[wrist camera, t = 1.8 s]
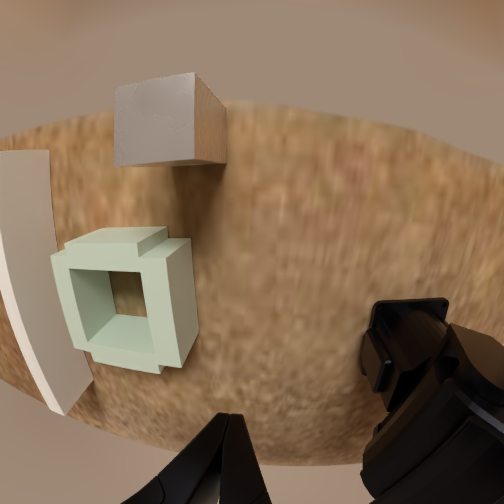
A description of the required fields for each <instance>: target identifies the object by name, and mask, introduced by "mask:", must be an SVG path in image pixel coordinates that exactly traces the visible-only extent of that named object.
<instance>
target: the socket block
mask: <svg viewBox="0 0 504 504" xmlns="http://www.w3.org/2000/svg"><path fill="white" fill-rule="evenodd" d="M64 244H65V249H64V250H61V251H59V252H57V253H55V254H53V255H50V257H51V263H52V268H53V273H54V277H55V282H56V286H57V290H58V294H59V298H60V302H61V306H62V310H63V313H64V317H65V320H66V323H67V327H68V330H69V333H70V336H71V339H72V342H73V345H74V348H76V349H80V350H84V351H88V352H91V354H92V357H93V360H94V361H96V362H100V363H104V364H109V365H113V366H118V367H123V368H128V369H133V370H138V371H144V372H150V373H156V374H161V372H162V370H163V368H164V367H165V366H171V367H178V368H182V366H183V364H184V362H185V360H186V358H187V356H188V354H189V352H190V349H191V347H192V345H193V343H194V341H195V339H196V337H197V335H198V333H199V324H198V315H197V305H196V295H195V284H194V273H193V260H192V247H191V238H168V227H167V226H158V227H119V228H101V229H98V230H96V231H93V232H91V233H88V234H86V235H83V236H81V237H79V238H76V239H74V240H71V241H69V242H66V243H64ZM108 271H126V272H141V279H142V286H143V292H144V298H145V304H146V310H147V315H148V317H138V316H129V315H121V314H117V313H116V309H115V304H114V299H113V294H112V289H111V284H110V278H109V273H108Z"/></svg>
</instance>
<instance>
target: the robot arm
mask: <svg viewBox="0 0 504 504" xmlns="http://www.w3.org/2000/svg"><path fill="white" fill-rule="evenodd" d="M443 303H444V305H443V306H442V304H443ZM381 306H383V308H382V309H381V310H378V309H379V307H381ZM448 306H449V301H448V300H447V299H446V298H444V297H442V298H426V299H406V300H382V301H378V302H376V303H375V304H374V307H373V312H372V318H371V323H370V328H369V329H368V330H367V331H366V334H365V339H364V343H363V348H362V353H361V361H362V365H361V372H362V374H363V375H365V376H367V377H368V380H369V382H370V385H371V388H372V391H373V392H374V393H380V394H381V397H382V400H383V402H384V405H385V408H386V410H387V412H390V413H389V414H388V416H387V417H386V418H385V419H384V420H383V421H382V422H381V423H379V424H378V425H377V426H376V427H375V428H374V432H373V439H372V440H371V441H370V442H369V443H368V444H367V446H366V448H365V450H364V453H363V470H361V472H360V475H361V478H362V481H363V484H364V485H365V487H366V488H367V490H368V492H369V493H370V494H371V496H372V497H373V498H374V499H375V500H374V501H372V502H371V503H369V504H504V346H502V345H501V344H500V343H499V342H498V341H496V340H495V339H494V338H493V337H491V336H488V335H485V334H482V333H479V332H476V331H473V330H470V329H467V328H464V327H461V326H458V325H455V324H452V323H450V324H448V323H447V322H446V321H445V318H446V314H447V310H448ZM219 495H220V498H219ZM218 498H219V504H272V503H271V500H270V497H269V494H268V492H267V489H266V486H265V483H264V480H263V477H262V474H261V471H260V468H259V465H258V462H257V459H256V456H255V452H254V449H253V446H252V443H251V440H250V436H249V433H248V430H247V426H246V423H245V420H244V416H243V415H242V414H231V415H230V414H229V413H222V412H219V413H217V414H216V415H215V416H214V417H213V418H212V419H211V421H210V422H209V423H208V424H207V425H206V426H205V427H204V428H203V429H202V430H201V431H200V432H199V433H198V434H197V435H196V437H195V438H194V439H193V440H192V441H191V442H190V443H189V444H188V445H187V446H186V447H185V448H184V449H183V450H182V451H181V452H180V453H179V454H178V455H177V456H176V457H175V458H174V459H173V460H172V461H171V462H170V463H169V464H168V465H167V466H166V467H165V468H164V469H163V470H162V471H161V472H160V473H159V474H158V476H155V477H154V478H153V479H152V480H151V481H150V482H149V483H148V484H146V485H145V486H144V487H143V488H142V489H141V490H140V491H138V492H137V493H135V494H134V495H133V496H131V497H130V498H128V499H127V500H125V501H124V502H122V503H121V504H217V502H218Z"/></svg>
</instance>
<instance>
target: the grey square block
mask: <svg viewBox="0 0 504 504" xmlns="http://www.w3.org/2000/svg"><path fill="white" fill-rule="evenodd" d="M207 164H227V154H226V107H225V106H224V105H223V104H222V103H221V101H220V100H219V99H218V98H217V97H216V96H215V95H214V93H213V92H212V91H211V90H210V89H209V88H208V86H207V85H206V84H205V83H204V82H203V81H202V80H201V78H200V77H199V76H198V75H197V74H196V73H195V72H192V73H185V74H178V75H172V76H166V77H161V78H156V79H151V80H146V81H141V82H137V83H132V84H128V85H124V86H121V87H116V95H115V115H114V167H176V166H190V165H207Z"/></svg>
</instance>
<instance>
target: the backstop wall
mask: <svg viewBox="0 0 504 504" xmlns="http://www.w3.org/2000/svg"><path fill="white" fill-rule="evenodd" d="M57 252H58V248H57V241H56V235H55V227H54V219H53V210H52V198H51V184H50V150H15V151H0V290H1V294H2V297H3V301H4V304H5V307H6V310H7V313H8V316H9V319H10V322H11V325H12V328H13V331H14V334H15V336H16V339H17V341H18V344H19V346H20V349H21V351H22V354H23V356H24V358H25V361H26V363H27V365H28V367H29V369H30V372H31V374H32V376H33V378H34V380H35V382H36V384H37V386H38V388H39V390H40V392H41V394H42V396H43V397H44V399H45V401H46V403H47V405H48V406H49V408H50V410H52V411H54V412H56V413H59V414H61V415H63V416H66V414H67V413H68V412H69V410H70V409H71V408H72V407H73V405H74V404H75V403H76V401H77V400H78V399H79V398H80V396H81V395H82V394H83V392H84V391H85V390H86V389H87V387H88V386H89V385H90V384H91V382H92V381H93V380H94V378H93V375H92V373H91V370H90V368H89V365H88V362H87V360H86V357H85V354H84V351H83V350H80V349H76V348H74V345H73V342H72V339H71V336H70V333H69V330H68V327H67V323H66V320H65V317H64V313H63V310H62V306H61V302H60V298H59V294H58V290H57V286H56V282H55V277H54V273H53V268H52V263H51V257H50V255H53V254H55V253H57Z"/></svg>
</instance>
